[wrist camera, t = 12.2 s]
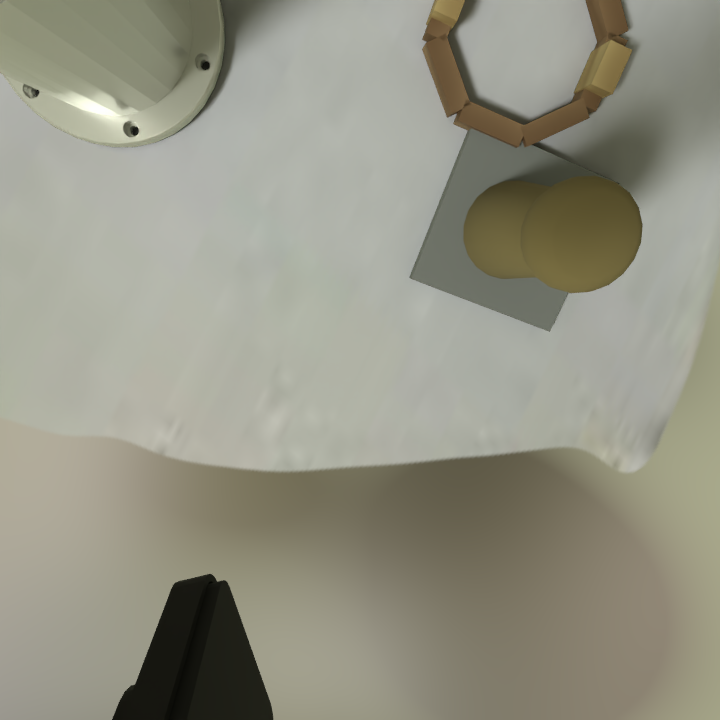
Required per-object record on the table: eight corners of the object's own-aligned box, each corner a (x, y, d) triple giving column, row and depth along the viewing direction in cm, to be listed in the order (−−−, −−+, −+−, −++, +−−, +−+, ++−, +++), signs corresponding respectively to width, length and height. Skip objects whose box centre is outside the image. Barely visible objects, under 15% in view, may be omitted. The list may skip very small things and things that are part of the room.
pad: (409, 277, 34) (411, 278, 33) (471, 122, 32) (474, 119, 31) (544, 329, 36) (549, 331, 35) (612, 184, 33) (619, 183, 33)
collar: (398, 100, 31) (403, 91, 29) (472, -104, 29) (484, -130, 27) (562, 171, 33) (578, 168, 31) (645, -15, 31) (669, -33, 28)
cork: (490, 163, 32) (574, 135, 21) (574, 205, 33) (694, 200, 22) (446, 255, 33) (504, 273, 23) (528, 294, 34) (621, 328, 24)
